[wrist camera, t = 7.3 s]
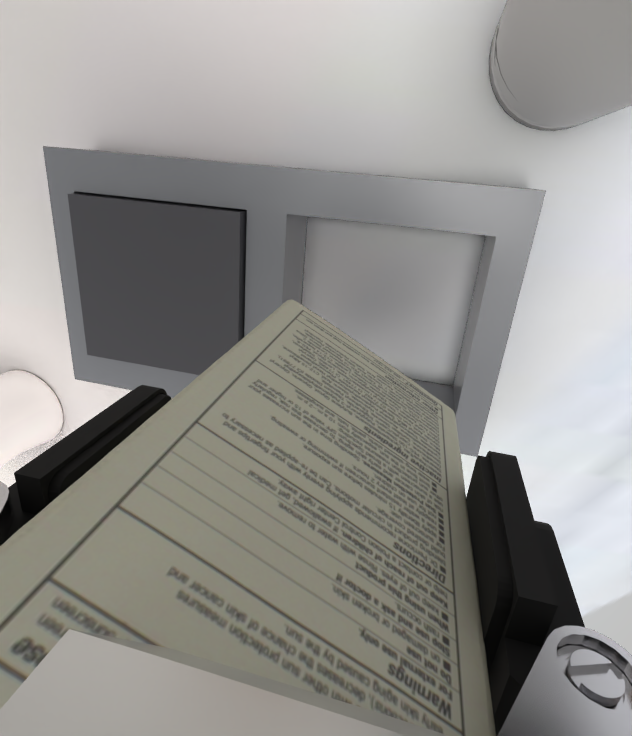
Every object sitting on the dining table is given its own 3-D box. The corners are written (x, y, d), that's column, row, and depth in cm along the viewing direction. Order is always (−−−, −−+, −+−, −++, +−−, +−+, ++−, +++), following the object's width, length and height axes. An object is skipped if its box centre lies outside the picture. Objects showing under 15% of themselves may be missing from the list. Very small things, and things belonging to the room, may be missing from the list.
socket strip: (95, 150, 27) (33, 145, 23) (528, 188, 23) (549, 191, 19) (115, 356, 32) (68, 382, 28) (472, 420, 28) (478, 463, 24)
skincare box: (227, 396, 15) (-284, 923, 5) (294, 288, 14) (-315, 749, 3) (383, 503, 16) (250, 1274, 5) (471, 411, 14) (602, 1359, 3)
